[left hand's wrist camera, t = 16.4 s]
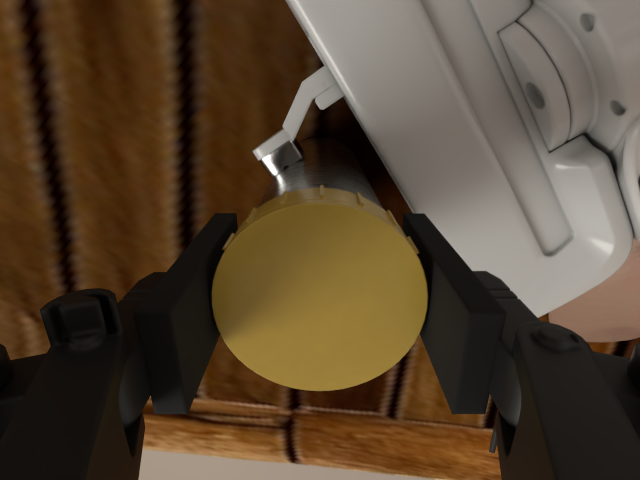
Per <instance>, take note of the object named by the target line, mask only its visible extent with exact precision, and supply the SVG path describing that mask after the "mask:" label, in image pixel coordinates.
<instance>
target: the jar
mask: <svg viewBox="0 0 640 480" xmlns="http://www.w3.org/2000/svg"><path fill="white" fill-rule="evenodd" d="M299 144H300V146H301V147H302V149H303V150H304V154H303V158H301V159H300V160H298V161H297V162H296V163H294V164H292V165H290V166H284V169H283V171H281V172H280V173H279V174H278V175H276V176H274V177H273V179H272V181H271V183H270V185H269V187H268V188H267V190H266V192H265V194H264V196H263V198H262V200H261V202H260V204H259V206H258V207H260V206H261V205H263V204H265V203H266V202H268V201H269V200H271V199H273V198H276V197H278V196H280V195H282V194H283V191H286V190H287V192H288V193H289V192H292V191H295V190H301V189H307V188H320V185H324V188H332V189H339V190H343V191H348V192H351V193H354V194H356V193H357V192H359V193H361V196H362V197H364V198H366V199H368V200H370V201H372V202H374V203H375V204H377V205H378V206H379V207H381V208H382V206H381V204H380V202H379V200H378V199H377V197H376V195H375V193H374V191H373V189H372V187H371V185H370V183H369V181H368V179H367V177H366V175H365V174H364V172H363V170H362V168H361V166H360V164H359V162H358V160H357V158H356V156H355V155H354V154H353V152H352V151H351V150H350V149H349V148H348V147H347V146H345V145H344V144H342V143H341V142H339V141H337V140H334V139H331V138H326V137H313V138H309V139H306V140H303V141H301V142H299ZM382 209H383V208H382Z"/></svg>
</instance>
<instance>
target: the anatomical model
mask: <svg viewBox="0 0 640 480" xmlns="http://www.w3.org/2000/svg"><path fill="white" fill-rule="evenodd" d="M549 323H553V324H557V325H560V326H562V327H565V328H567V329H570V330H572V331H573V332H575V333H576V334H578V335H579V336H581V337H582V338H583V339H584V340H585V341H586V342H614V341H623V340H630V339H635V338H638V337H640V242H639V241H636V240H634V239H633V245H632V249H631V252H630V254H629V256H628V258H627V260H626V261H625V263H624V264H623V265H622V266H621V267H620V269H618V270H617V271H616V272H615V273H614V274H613V275H612V276H610V277H609V278H608V279H607V280H605V281H604V282H602V283H601V284H599V285H597V286H596V287H594V288H593V289H591V290H589V291H587V292H586V293H584V294H582V295H580V296H579V297H577V298H575V299H573V300H571V301H570V302H568V303H566V304H564V305H562V306H560V307H558V308H557V309H555V310H553V311H551V312H549Z"/></svg>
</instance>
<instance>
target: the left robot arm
mask: <svg viewBox="0 0 640 480" xmlns="http://www.w3.org/2000/svg"><path fill="white" fill-rule="evenodd" d="M237 230H238V227H237V215H236V213H215V215H214V216H213V217H212V218H211V219H210V221H209V222H208V223H207V224H206V225H205V227H204V228H203V229H202V230H201V231H200V233H199V234H198V235H197V236H196V237H195V239H194V240H193V241H192V242H191V243H190V245H189V246H188V247H187V248H186V249H185V251H184V252H183V253H182V254H181V255H180V257H179V258H178V259H177V260H176V261H175V263H174V264H173V265H172V266H171V267H170V269H169V270H168V271H167V272H154V273H152V274H150V275H148V276H146V277H145V278H143V279H141V280H139V281H138V282H137V283H136V284H135V286H134V287H133V288H132V289H131V290H130V292H128V293H127V294H126V295H125V296H124V297H123V300H120V302H119V303H118V304H117V300H116V296H115V294H114V293H113V292H111V291H110V290H106V289H100V288H97V289H84V290H80V291H75V292H71V293H68V294H65V295H63V296H60V297H58V298H56V299H54V300H52V301H50V302H48V303H47V304H46V305H45V306H44V307H43V308H42V309H41V310H40V313H41V316H42V319H43V322H44V325H45V329H46V332H47V335H48V338H49V341H50V344H51V347H50V349H49V350H48V352H47V353H46V354H41V355H36V356H31V357H25V358H20V359H15V360H10V358H9V356H8V353H7V350H6V348H5V346H3V345H2V344H0V480H138V478H139V470H140V462H141V454H142V447H143V439H144V432H145V423H144V418H143V413H142V410H143V408H144V406H145V404H146V403H147V401H148V399H149V397H150V395H151V399H152V403H153V408H154V413H155V414H188V412H189V409H190V407H191V404H192V402H193V400H194V397H195V395H196V392H197V390H198V387H199V385H200V382H201V380H202V377H203V375H204V372H205V370H206V367H207V365H208V363H209V360H210V358H211V355H212V353H213V350H214V348H215V345H216V343H217V340H218V338H219V335H220V332H219V330H218V328H217V325H216V322H215V319H214V315H213V309H212V295H211V292H212V284H213V278H214V275H215V271H216V268H217V265H218V263H219V261H220V259H221V257H222V255H223V253H224V250H222V249H223V247H224V245H225V244H226V242H227V240H228V239H229V237H230V235H231V234H232V233H233V234H235V233H236V231H237ZM402 230H403V232H404V234H405V235H406V237H409V236H410V238H411V240H412V241H413V243H414V245H415V246H416V248H417V250H418V252H419V253H418V254H417V256H418V258H419V259H420V262H421V264H422V267H423V269H424V272H425V276H426V280H427V286H428V307H427V312H426V317H425V321H424V324H423V326H422V329H421V332H420V335H421V338H422V340H423V343H424V345H425V348H426V350H427V353H428V355H429V358H430V360H431V363H432V365H433V368H434V370H435V372H436V375H437V377H438V380H439V382H440V385H441V387H442V390H443V392H444V395H445V397H446V400H447V402H448V404H449V407H450V409H451V412H452V414H485V413H486V408H487V403H488V399H489V394H490V395H491V397H492V399H493V401H494V402H495V404H496V406H497V408H498V413H497V418H496V422H495V426H494V431H493V435H492V439H491V444H490V450H489V452H492V453H495V449H496V445H497V446H498V454H499V461H500V469H501V477H502V480H640V342H639V343H638V344H636V345H635V348H634V350H633V353H632V355H631V358H630V359H629V358H624V357H619V356H614V355H608V354H603V353H598V352H593V351H592V350H591V348H590V346H589V345H588V343H587V342H586V341H585V340H584V339H583V338H582V337H581V336H579V335H578V334H576V333H575V332H573V331H572V330H570V329H567V328H565V327H562V326H560V325H557V324H553V323H549V322H545V321H540V320H539V319H538V318H537V317H536V316H535V315H534V314H533V312H532V311H531V310H530V309H529V308H528V307H527V306H526V305H525V304H524V303H523V302H522V301H521V300H520V299H518V297H517V296H516V295H515V293H514V292H513V291H510V288H509V287H508V286H507V285H506V284H505V283H504V282H503V281H502V280H501V279H500V278H498V277H496V276H494V275H493V274H491V273H489V272H487V271H472V270H471V269H470V267H469V266H468V265H467V264H466V263H465V261H464V260H463V259H462V258H461V257H460V255H459V254H458V253H457V252H456V251H455V249H454V248H453V247H452V246H451V245H450V243H449V242H448V241H447V240H446V239H445V237H444V236H443V235H442V234H441V233H440V231H439V230H438V229H437V228H436V227H435V225H434V224H433V223H432V222H431V221H430V219H429V218H428V217H427V216H426V215H425V213H404V215H403V227H402Z"/></svg>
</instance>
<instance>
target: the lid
mask: <svg viewBox="0 0 640 480" xmlns="http://www.w3.org/2000/svg"><path fill="white" fill-rule="evenodd" d="M222 250H224V253H223V255H222V257H221V259H220V261H219V263H218V265H217V268H216V271H215V275H214V278H213V284H212V292H211V295H212V309H213V315H214V319H215V322H216V325H217V328H218V330H219V332H220V334H221V336H222V338H223V340H224V341H225V343H226V344H227V346H228V347H229V349H230V350H231V351H232V352H233V353H234V355H235V356H236V357H237V358H238V359H239V360H240V361H241V362H242V363H244V364H245V365H246V366H247V367H248V368H250V369H251V370H253V371H254V372H256V373H257V374H259V375H261V376H262V377H264V378H266V379H268V380H270V381H273V382H275V383H278V384H280V385H284V386H288V387H291V388H296V389H302V390H311V391H330V390H338V389H344V388H348V387H352V386H356V385H359V384H362V383H364V382H367V381H369V380H371V379H373V378H375V377H377V376H379V375H381V374H382V373H384V372H386V371H387V370H389V369H390V368H391V367H392V366H394V365H395V364H396V363H397V362H399V361H400V360H401V358H402V357H403V356H404V355H405V354H406V353H407V352H408V351H409V349H410V348H411V347H412V345H413V344H414V343H415V341H416V339H417V337H418V335H419V334H420V332H421V329H422V326H423V324H424V321H425V317H426V312H427V307H428V286H427V280H426V276H425V272H424V269H423V267H422V264H421V262H420V259H419V258H418V256H417V254H418V253H419V252H418V250H417V248H416V246H415V245H414V243H413V241H412V240H411V238H410V236H409V237H406V235H405V234H404V232H403V230H402V229H401V227H400V226H399V225H398V223H397V222H396V220H395V219H394V217H393V215H392V213H391V212H390V211H389V210H387V212H386V211H385V210H384V209H382V208H381V207H379V206H378V205H377V204H375V203H374V202H372V201H370V200H368V199H366V198H364V197H362V196H361V193H359V192H357V193H356V194H354V193H351V192H348V191H343V190H339V189H332V188H324V185H320V188H307V189H301V190H295V191H292V192H289V193H288V192H287V190H286V191H283V194H282V195H280V196H278V197H276V198H273V199H271V200H269V201H268V202H266V203H265V204H263V205H261V206H260V207H258V208H257V209H256V208H255V207H254V208H253V209H252V210H251V212H250V214H249V216H248V217H247V218H246V219H245V221H244V222H243V223H242V224H241V225H240V227H239V228H238V230H237V231H236V233H235V234H233V233H232V234H231V235H230V237H229V239H228V240H227V242H226V244H225V245H224V247H223V249H222Z"/></svg>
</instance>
